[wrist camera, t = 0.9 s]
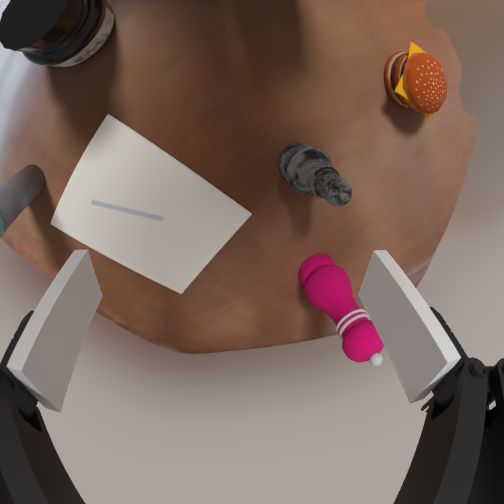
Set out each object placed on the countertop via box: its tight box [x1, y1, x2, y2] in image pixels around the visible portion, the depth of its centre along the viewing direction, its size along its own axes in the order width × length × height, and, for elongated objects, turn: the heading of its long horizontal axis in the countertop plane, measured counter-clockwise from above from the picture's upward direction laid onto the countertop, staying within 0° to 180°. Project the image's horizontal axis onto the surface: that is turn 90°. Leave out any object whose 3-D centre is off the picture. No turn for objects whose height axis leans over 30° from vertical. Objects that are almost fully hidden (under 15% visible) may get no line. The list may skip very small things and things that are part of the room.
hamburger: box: [384, 42, 447, 120], centre depth 26 cm, size 9×10×7 cm
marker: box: [0, 165, 45, 239], centre depth 19 cm, size 4×4×14 cm
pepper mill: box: [299, 254, 384, 366], centre depth 37 cm, size 7×7×20 cm
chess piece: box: [279, 143, 352, 207], centre depth 29 cm, size 6×6×12 cm
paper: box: [50, 114, 252, 294], centre depth 32 cm, size 22×16×1 cm
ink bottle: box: [0, 0, 115, 67], centre depth 12 cm, size 10×9×12 cm
